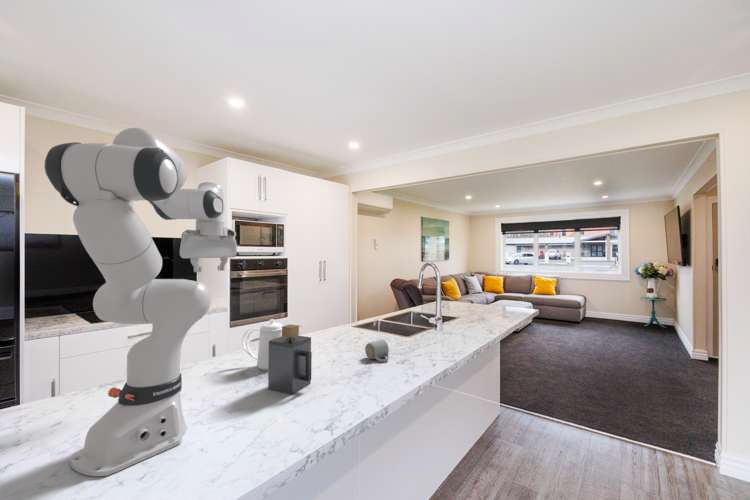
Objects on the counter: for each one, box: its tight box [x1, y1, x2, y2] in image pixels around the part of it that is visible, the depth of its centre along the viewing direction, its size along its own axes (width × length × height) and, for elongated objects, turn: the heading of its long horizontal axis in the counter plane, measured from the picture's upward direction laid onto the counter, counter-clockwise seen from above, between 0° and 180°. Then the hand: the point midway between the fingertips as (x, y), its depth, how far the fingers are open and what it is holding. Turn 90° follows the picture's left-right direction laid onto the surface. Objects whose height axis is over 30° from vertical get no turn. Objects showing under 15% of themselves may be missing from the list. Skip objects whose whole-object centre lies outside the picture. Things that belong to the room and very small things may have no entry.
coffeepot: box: [242, 319, 304, 371], centre depth 134 cm, size 11×25×19 cm, turn 84°
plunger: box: [282, 324, 300, 340], centre depth 114 cm, size 7×7×19 cm
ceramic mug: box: [364, 338, 390, 363], centre depth 144 cm, size 11×8×8 cm
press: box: [267, 335, 312, 396], centre depth 114 cm, size 10×13×16 cm
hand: (209, 271), depth 115 cm, fingers open, 8 cm apart
